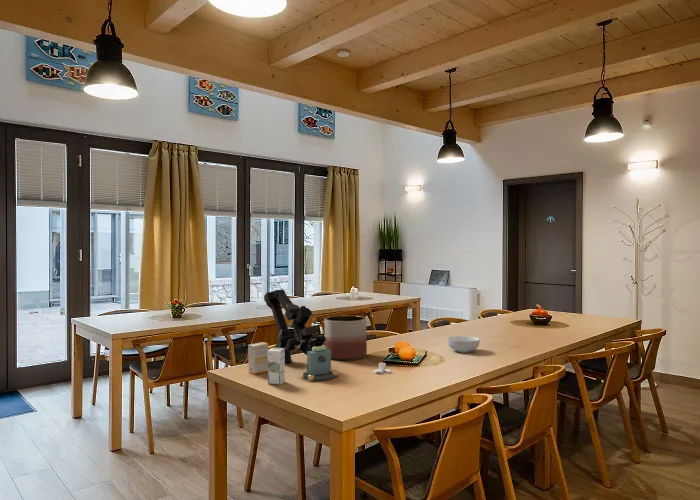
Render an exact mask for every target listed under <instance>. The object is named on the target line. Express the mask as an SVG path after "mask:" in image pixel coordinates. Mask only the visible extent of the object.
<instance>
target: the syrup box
mask: <svg viewBox="0 0 700 500" xmlns="http://www.w3.org/2000/svg"><path fill="white" fill-rule="evenodd" d="M285 364H286V363H285V349H284V348H276V347H271V348H270V349H269V348H268V371H267V384H268V385H275V386H276V385H277V386H280V385H282V384H284V383H285V382H286V377H285V374H286V373H285V369H286V368H285V367H286V365H285Z"/></svg>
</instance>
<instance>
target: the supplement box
mask: <svg viewBox="0 0 700 500" xmlns="http://www.w3.org/2000/svg"><path fill="white" fill-rule="evenodd" d="M247 347H248V348H247V352H248V353H247V354H248V355H247V357H248V373H249V374H251V373H252V375H258V374H261V373H268V350H269V343H267V342H264V341H263V342H262V341H261V342H257V343H251V344H247ZM257 373H258V374H257Z"/></svg>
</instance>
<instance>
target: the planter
mask: <svg viewBox="0 0 700 500" xmlns="http://www.w3.org/2000/svg"><path fill="white" fill-rule="evenodd" d="M324 336H325V338H326V340H325V342H324V344H323V346H326V349H329V350H331V360H335V361H354V360H360V359H362V358H364V357H365V356H366V355H367V353H368V351H367V349H368V348H367V347H368V346H367V343H368V341H367V318H366V317H365V316H361V315H348V314H346V315H340V314H339V315H331V316H330V315H329V316H327V317H325V318H324Z"/></svg>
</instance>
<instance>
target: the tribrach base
mask: <svg viewBox="0 0 700 500" xmlns="http://www.w3.org/2000/svg"><path fill="white" fill-rule="evenodd" d="M338 372H339V371H338V370H335V369H334V370H331V373H326V374H320V375H313V374H309V375H308V374H307V370H306V371H304V372H303V374H302V378H303V379H304V380H306V381H308V382H310V383H311V382H325V381H330V380H331V381H332V380H333V379H335V378H338V377H339V376H338Z"/></svg>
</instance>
